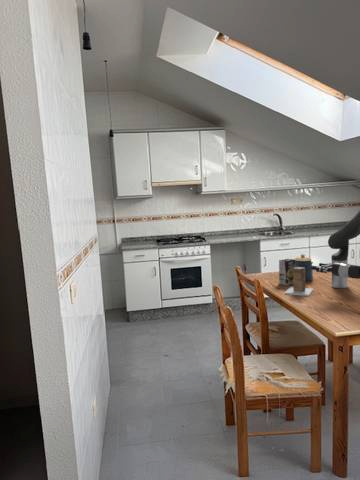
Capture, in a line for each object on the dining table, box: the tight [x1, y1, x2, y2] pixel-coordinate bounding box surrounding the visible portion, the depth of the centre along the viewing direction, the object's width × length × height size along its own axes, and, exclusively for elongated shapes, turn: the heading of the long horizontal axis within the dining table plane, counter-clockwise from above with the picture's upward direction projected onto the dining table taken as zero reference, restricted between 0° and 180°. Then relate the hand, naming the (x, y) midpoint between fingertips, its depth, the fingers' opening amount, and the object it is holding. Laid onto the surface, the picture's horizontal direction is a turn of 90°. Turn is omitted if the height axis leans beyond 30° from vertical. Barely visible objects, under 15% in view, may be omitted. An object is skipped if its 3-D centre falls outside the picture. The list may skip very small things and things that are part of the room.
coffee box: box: [278, 258, 295, 286], centre depth 248 cm, size 9×6×16 cm
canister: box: [294, 253, 314, 282], centre depth 257 cm, size 13×13×18 cm
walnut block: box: [292, 267, 306, 292], centre depth 226 cm, size 5×5×14 cm
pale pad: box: [284, 286, 314, 297], centre depth 227 cm, size 14×14×1 cm
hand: (315, 266), depth 217 cm, fingers open, 8 cm apart
